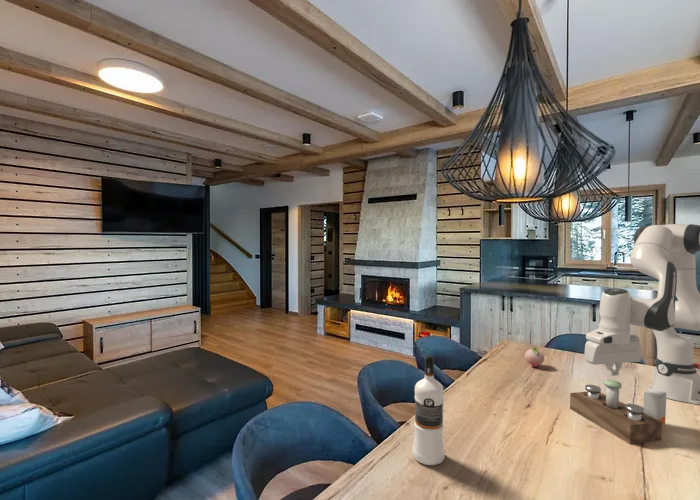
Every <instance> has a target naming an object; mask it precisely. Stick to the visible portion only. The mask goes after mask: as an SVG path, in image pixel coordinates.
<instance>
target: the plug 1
mask: <svg viewBox="0 0 700 500" xmlns="http://www.w3.org/2000/svg"><path fill="white" fill-rule="evenodd" d="M584 387H585V389H584V390H585V391H586V392H587V397H589V398H591V399H599V393H602V388H601V387H600V386H599V385H595V384H585V386H584Z"/></svg>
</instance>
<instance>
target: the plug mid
mask: <svg viewBox="0 0 700 500" xmlns="http://www.w3.org/2000/svg"><path fill="white" fill-rule="evenodd" d="M603 384H604V386H605V387H606V388H605V389H606V390H605V391H606V392H605V395H606V407H608V408H610V409H612V410H614V409H619V401H620V389H622V383H621V382H619V381H617V380H613V379H605V380H604V383H603Z"/></svg>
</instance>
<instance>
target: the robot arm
mask: <svg viewBox="0 0 700 500" xmlns="http://www.w3.org/2000/svg"><path fill="white" fill-rule="evenodd" d="M698 252H700V225H698V224H693V223H690V224H681V223H669V224H652V225H644V226H640V227H639V228H637V229H636V230H635V232H634V234H633V248H632V250H631V252H630V256H629V260H630V263H631V265H632V266H633V268H635V269H636V271H638V272H639V273H641V274H644V275H646V276H649V277H651V278H654V279H656V280H658V287H657V297H656V298H649V299H648V298H647V299H646V298H640V297H639V298H638V297H633V296H631V295H630V292H629V290H627V289H625V288H621V287H620V288H617V287H613V288H611V287H610V288H605V289H604V290H602V293H601V296H600V301H599V307H598V308H599V312H598V313H599V317H600V321H599V323H598V328H595V329H594V330H592V331H590V332H587V333H586V334H585V338H586V340H587V341H586V343H585V344H584V359H585V361H586V362H587V363H589V364H591V365H594V366H595V365H596V366H597V365H604V366H605V368H606V370H607V371H606V373H607V375H608V376H610V377H611V376H612V377H613V376H619V375H620V374H619V373H620V370H621V369H622V367H623V363H625V364H627V363H640V362H641V361H642V358H643V355H642V354H643V352H642V344H641V340H640V339H641V338H639V336H638V335H636V334H631V326H630V325H632V326H637V327H641V328H642V327H643V328H646V329H649V330H651V331H652V333H653V334H654V336H655V340H656V351H657V355H656V357H655V360H654V363H655V368H653V374H652V379H651V380H652V381H651V382H650V383H649V387H650V389H652V388H654V389H658V390H661V391H664V392H666V399H670V400H673V401H677V402H684V403H688V404H694V405H700V374H699V373H698V372H697V369H698V370H700V363H696V362H694V348H695V347H694V345H693V344H692V342H691V341H690V340H688V339H687V338H685V337H684V336H682V335H680V334H678V333H677V331H676V330H675V329H681V330H682V329H683V330H687V331H689V330H690V331H695V332H698V331H699V332H700V291H699V289H698V286H697V277H696V275H697V273H696V271H697V270H696V269H697V267H696V266H697V265H696V263H697V262H696V254H697V253H698ZM676 298H677V300H676Z"/></svg>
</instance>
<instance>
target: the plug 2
mask: <svg viewBox="0 0 700 500" xmlns="http://www.w3.org/2000/svg"><path fill="white" fill-rule="evenodd" d="M624 404H625V409H626V410H627V417H628V418H629V419H631V420H633V421H641V414H643V413H644V408H643V407H642V406H640V405H639V404H635V403H624Z"/></svg>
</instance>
